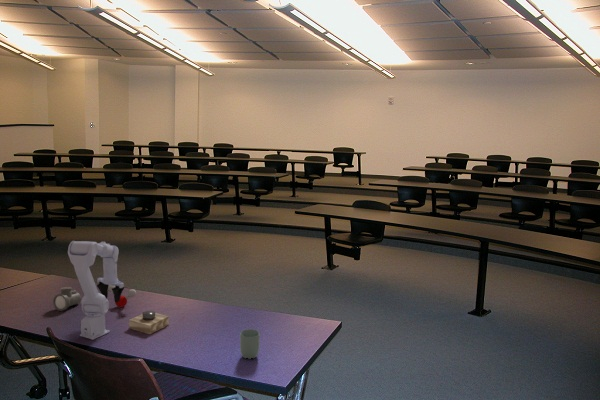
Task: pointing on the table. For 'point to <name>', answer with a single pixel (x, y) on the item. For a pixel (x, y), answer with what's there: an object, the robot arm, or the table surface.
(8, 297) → the table surface
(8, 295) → the table surface
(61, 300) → the pipe fitting
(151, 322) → the wooden block
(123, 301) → the molecular model
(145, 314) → the steel pin
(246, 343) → the cup
